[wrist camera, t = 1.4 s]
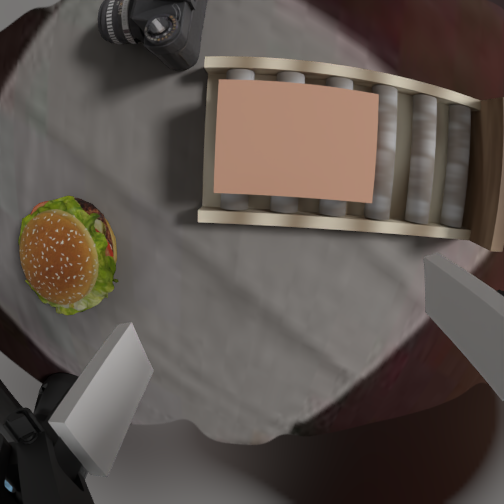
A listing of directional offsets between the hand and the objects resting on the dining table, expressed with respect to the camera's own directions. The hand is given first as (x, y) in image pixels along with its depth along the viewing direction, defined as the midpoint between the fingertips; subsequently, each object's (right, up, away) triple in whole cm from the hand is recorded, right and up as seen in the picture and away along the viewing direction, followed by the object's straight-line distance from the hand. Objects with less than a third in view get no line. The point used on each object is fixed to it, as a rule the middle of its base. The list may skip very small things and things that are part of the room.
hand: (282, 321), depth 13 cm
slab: (+3, +13, +16) cm, 21 cm away
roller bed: (+10, +14, +19) cm, 26 cm away
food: (-23, +3, +24) cm, 33 cm away
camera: (-11, +30, +16) cm, 35 cm away
